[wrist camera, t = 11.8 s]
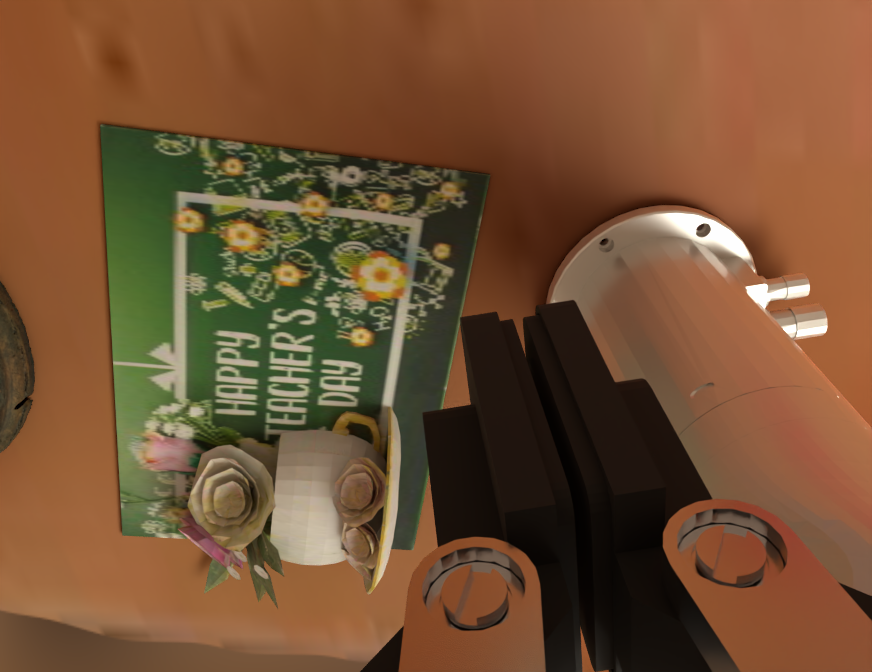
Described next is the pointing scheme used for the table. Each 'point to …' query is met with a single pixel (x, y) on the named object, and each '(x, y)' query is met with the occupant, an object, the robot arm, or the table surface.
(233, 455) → the decorative card
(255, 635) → the table surface
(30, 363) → the owl figurine
